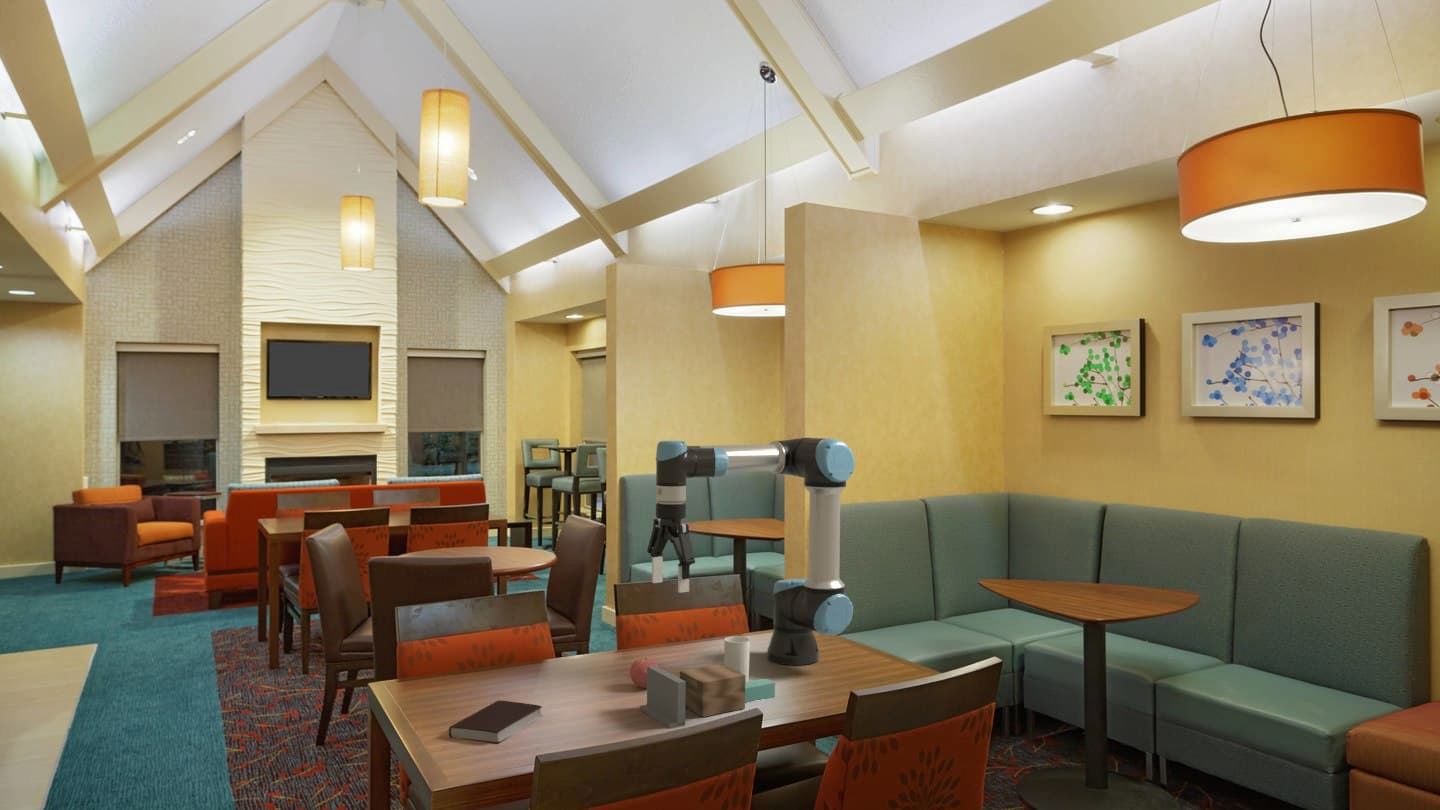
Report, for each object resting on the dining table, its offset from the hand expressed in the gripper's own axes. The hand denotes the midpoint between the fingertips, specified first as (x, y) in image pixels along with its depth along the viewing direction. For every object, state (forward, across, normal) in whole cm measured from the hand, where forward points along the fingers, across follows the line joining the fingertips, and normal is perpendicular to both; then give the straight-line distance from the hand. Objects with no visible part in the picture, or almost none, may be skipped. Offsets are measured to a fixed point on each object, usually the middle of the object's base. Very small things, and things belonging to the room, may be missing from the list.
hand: (670, 587), depth 225 cm
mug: (+28, -2, +21) cm, 35 cm away
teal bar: (+28, +10, +17) cm, 34 cm away
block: (+28, +11, +6) cm, 30 cm away
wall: (+28, +11, -7) cm, 31 cm away
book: (+29, -3, -43) cm, 52 cm away
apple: (+28, -11, -1) cm, 30 cm away
